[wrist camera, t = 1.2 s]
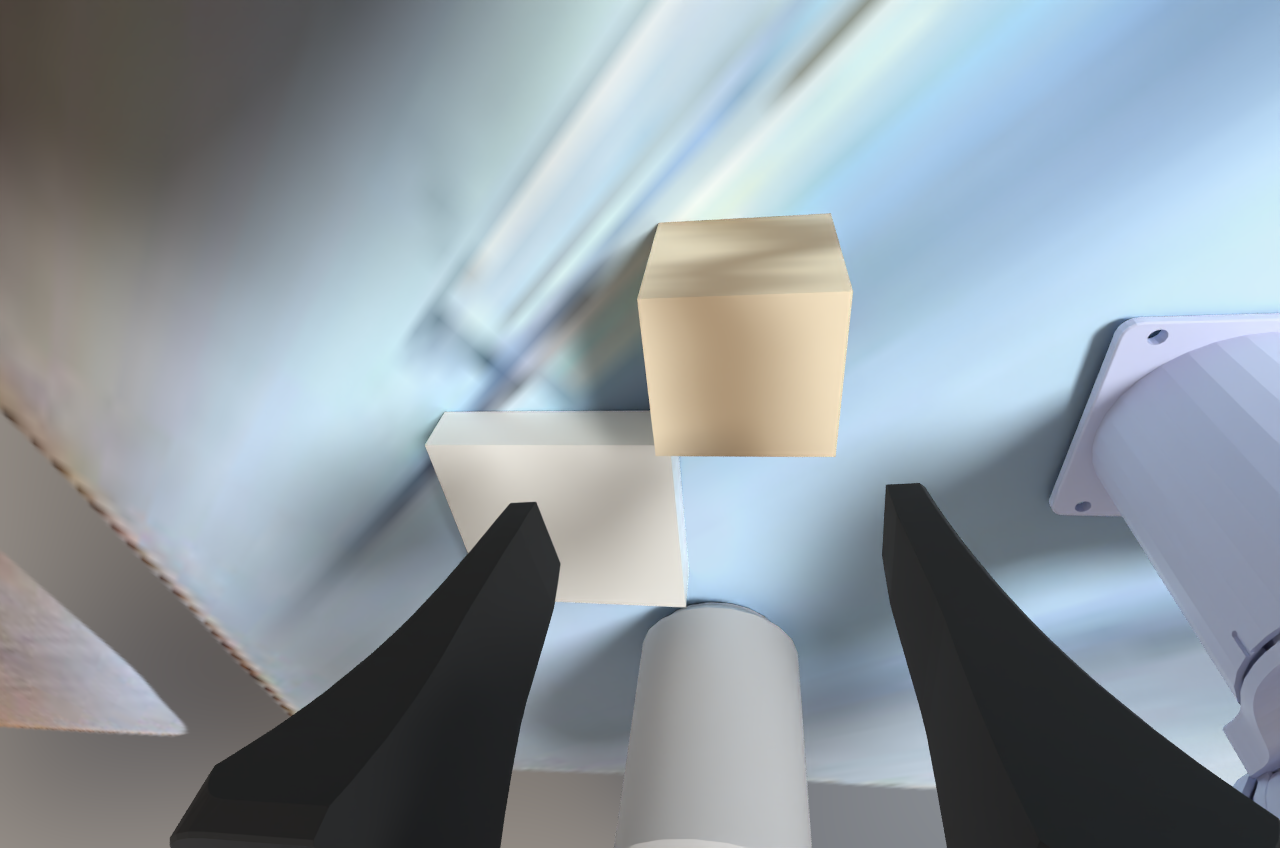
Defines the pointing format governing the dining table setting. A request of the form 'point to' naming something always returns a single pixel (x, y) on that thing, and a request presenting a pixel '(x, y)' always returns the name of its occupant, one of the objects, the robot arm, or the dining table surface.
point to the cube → (745, 336)
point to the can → (716, 736)
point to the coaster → (574, 496)
